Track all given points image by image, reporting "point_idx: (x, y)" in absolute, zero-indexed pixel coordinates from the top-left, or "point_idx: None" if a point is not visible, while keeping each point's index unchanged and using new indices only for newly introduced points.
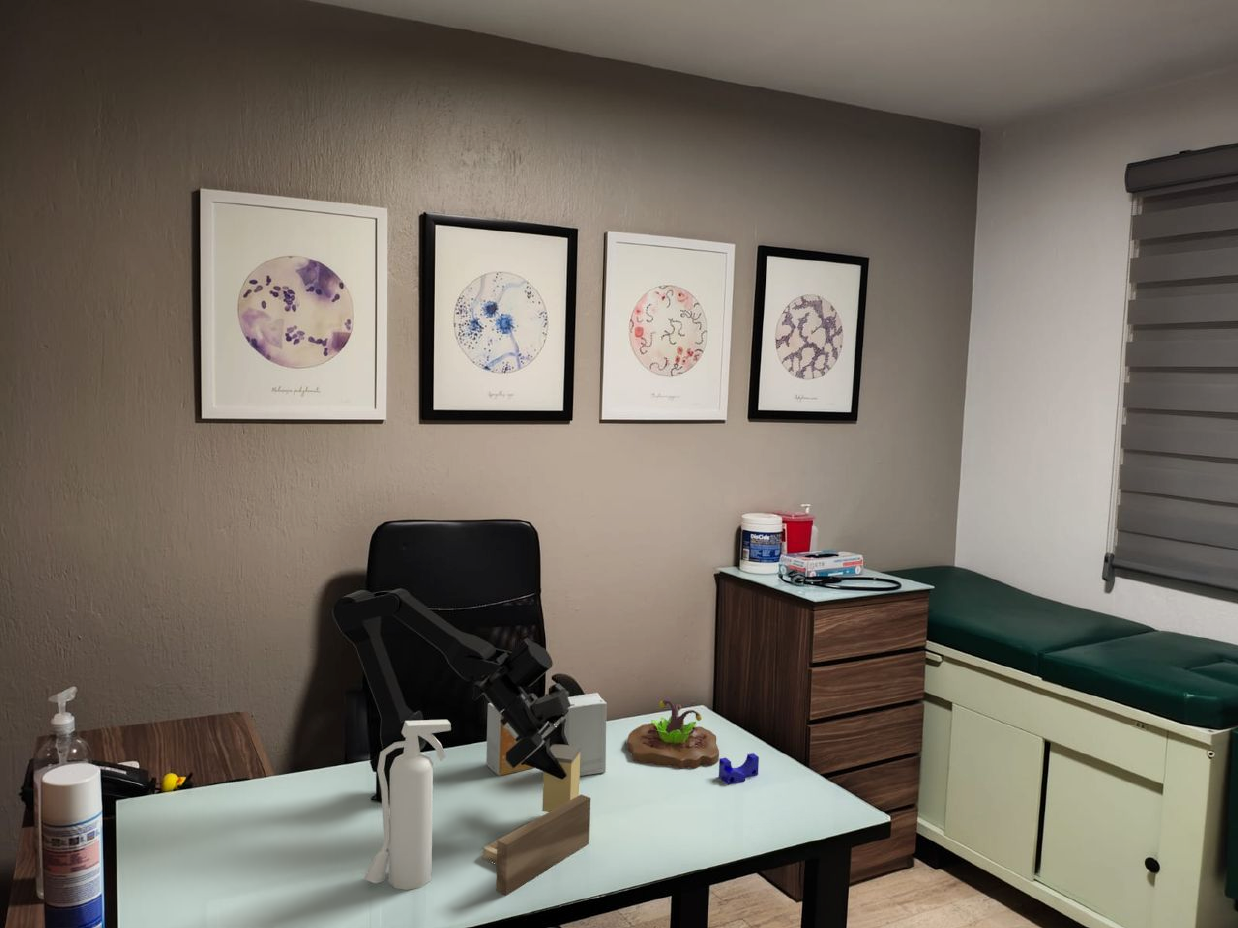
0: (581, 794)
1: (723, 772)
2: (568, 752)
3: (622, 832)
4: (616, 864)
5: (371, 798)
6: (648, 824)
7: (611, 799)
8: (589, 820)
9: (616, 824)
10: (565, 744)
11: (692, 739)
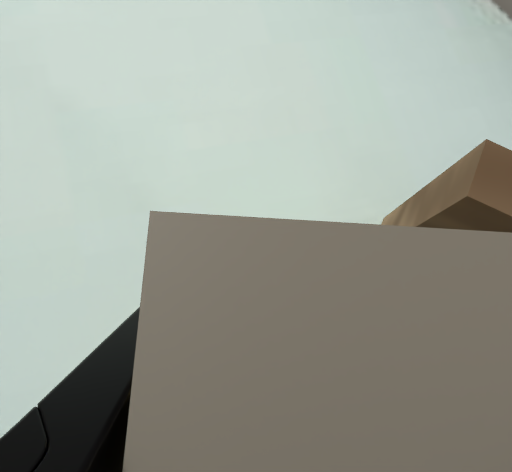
0: (467, 194)
1: None
2: (350, 317)
3: (276, 125)
4: (470, 114)
5: None
6: (199, 54)
7: (23, 204)
8: (425, 187)
9: (226, 152)
10: (110, 431)
11: None
